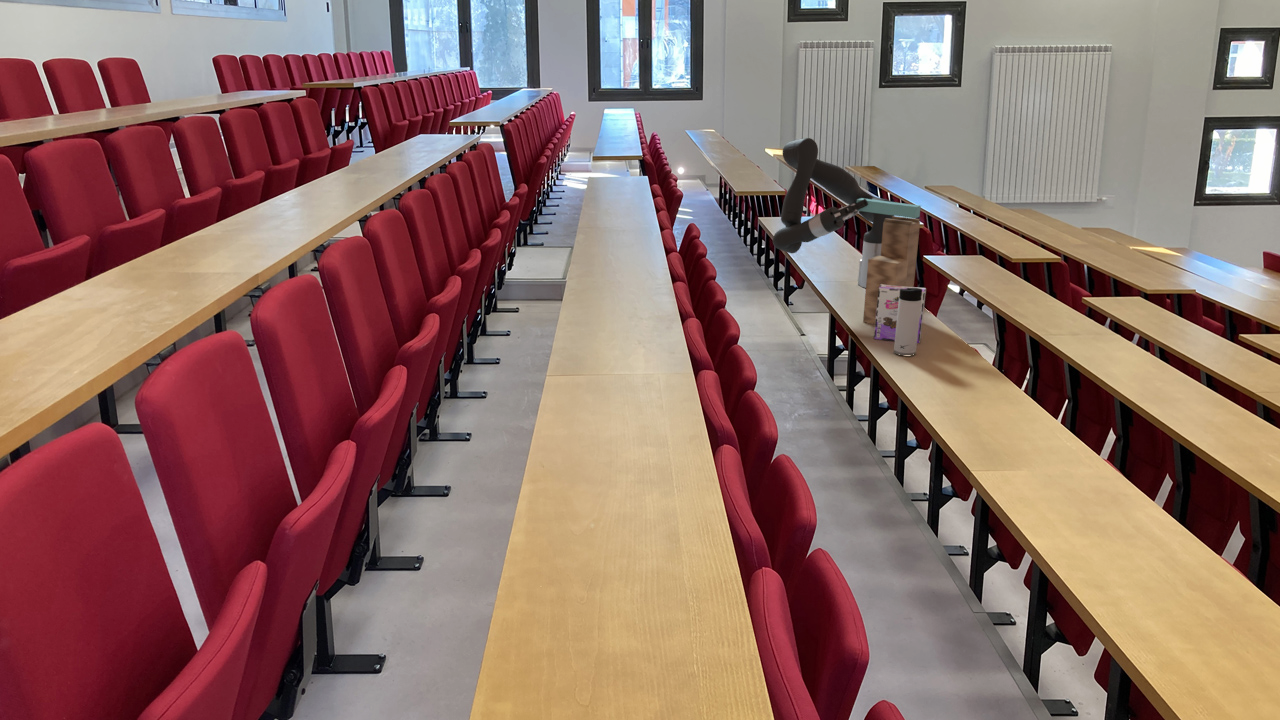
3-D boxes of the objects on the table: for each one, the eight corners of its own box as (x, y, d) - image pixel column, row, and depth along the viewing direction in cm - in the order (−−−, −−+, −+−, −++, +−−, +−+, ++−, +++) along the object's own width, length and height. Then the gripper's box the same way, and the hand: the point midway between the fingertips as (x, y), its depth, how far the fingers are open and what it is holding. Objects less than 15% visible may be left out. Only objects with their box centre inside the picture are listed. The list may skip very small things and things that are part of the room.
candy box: (873, 339, 281) (877, 287, 276) (875, 334, 287) (879, 283, 282) (919, 344, 277) (925, 291, 272) (921, 338, 282) (926, 287, 277)
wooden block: (863, 322, 300) (868, 259, 293) (873, 317, 305) (879, 255, 299) (891, 327, 294) (897, 263, 287) (902, 322, 300) (908, 259, 293)
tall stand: (875, 317, 305) (883, 219, 295) (885, 312, 311) (894, 215, 301) (900, 322, 300) (910, 222, 289) (910, 317, 306) (920, 218, 295)
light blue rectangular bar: (855, 210, 294) (856, 199, 293) (860, 208, 296) (861, 198, 295) (914, 218, 282) (916, 207, 281) (919, 216, 285) (920, 205, 283)
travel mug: (903, 358, 264) (910, 291, 257) (889, 351, 270) (895, 286, 263) (921, 355, 266) (928, 289, 260) (906, 349, 272) (912, 284, 266)
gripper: (811, 214, 298) (855, 192, 287) (831, 209, 309) (874, 188, 297) (820, 235, 298) (864, 214, 287) (840, 229, 309) (883, 209, 297)
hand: (869, 201), depth 292 cm, fingers closed on light blue rectangular bar, 3 cm apart
